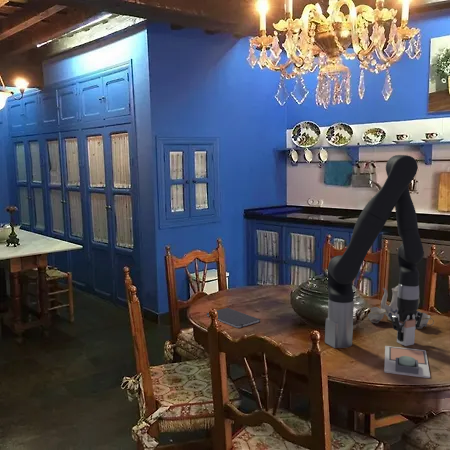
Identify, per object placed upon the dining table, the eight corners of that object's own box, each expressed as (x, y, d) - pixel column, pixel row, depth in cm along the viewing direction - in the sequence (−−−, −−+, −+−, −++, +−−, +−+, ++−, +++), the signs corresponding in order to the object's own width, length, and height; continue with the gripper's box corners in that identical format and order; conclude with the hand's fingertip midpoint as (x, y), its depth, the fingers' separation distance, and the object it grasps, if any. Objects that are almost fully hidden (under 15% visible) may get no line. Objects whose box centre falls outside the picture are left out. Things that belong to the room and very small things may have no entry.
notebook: (260, 322, 216) (227, 310, 232) (260, 319, 216) (227, 307, 232) (237, 329, 208) (205, 316, 224) (237, 325, 208) (205, 313, 224)
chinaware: (362, 328, 214) (363, 291, 209) (364, 312, 229) (365, 277, 225) (434, 335, 205) (436, 297, 201) (431, 318, 220) (433, 282, 216)
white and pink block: (405, 346, 190) (406, 321, 188) (396, 342, 194) (398, 317, 192) (414, 344, 191) (415, 319, 190) (405, 340, 195) (406, 316, 194)
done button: (415, 368, 165) (415, 363, 165) (398, 366, 167) (399, 361, 167) (414, 362, 170) (414, 357, 170) (398, 360, 172) (399, 355, 171)
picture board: (430, 378, 163) (430, 370, 163) (384, 372, 167) (384, 364, 167) (425, 351, 184) (426, 345, 184) (385, 347, 188) (385, 340, 188)
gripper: (400, 301, 183) (398, 346, 186) (430, 296, 189) (427, 340, 192) (386, 295, 190) (384, 339, 193) (414, 291, 196) (412, 333, 199)
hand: (405, 339), depth 192 cm, fingers closed on white and pink block, 4 cm apart
